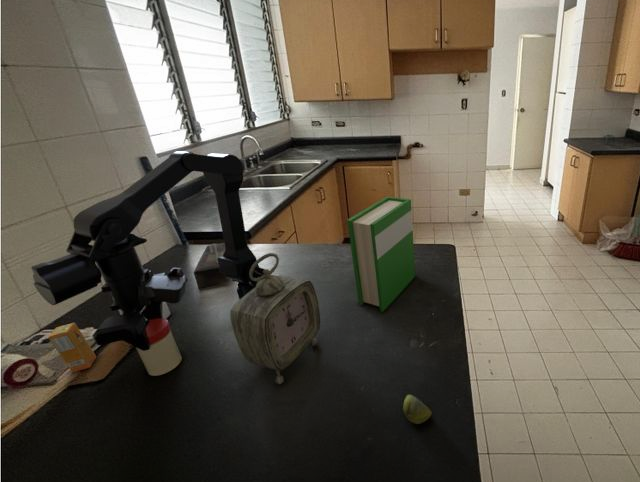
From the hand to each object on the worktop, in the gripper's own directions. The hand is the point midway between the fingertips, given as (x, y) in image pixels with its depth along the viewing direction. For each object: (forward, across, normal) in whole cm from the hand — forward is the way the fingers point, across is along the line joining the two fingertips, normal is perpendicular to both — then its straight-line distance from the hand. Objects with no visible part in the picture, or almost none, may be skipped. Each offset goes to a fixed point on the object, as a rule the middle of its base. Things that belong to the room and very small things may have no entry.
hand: (153, 338), depth 68 cm
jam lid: (-2, 0, 0) cm, 2 cm away
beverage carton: (+7, +38, -3) cm, 39 cm away
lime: (+7, -30, -47) cm, 56 cm away
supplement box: (+7, +6, +17) cm, 19 cm away
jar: (+7, +18, +9) cm, 21 cm away
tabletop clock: (+7, -8, -25) cm, 27 cm away
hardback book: (+7, +9, -51) cm, 52 cm away
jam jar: (+7, 0, 0) cm, 7 cm away
